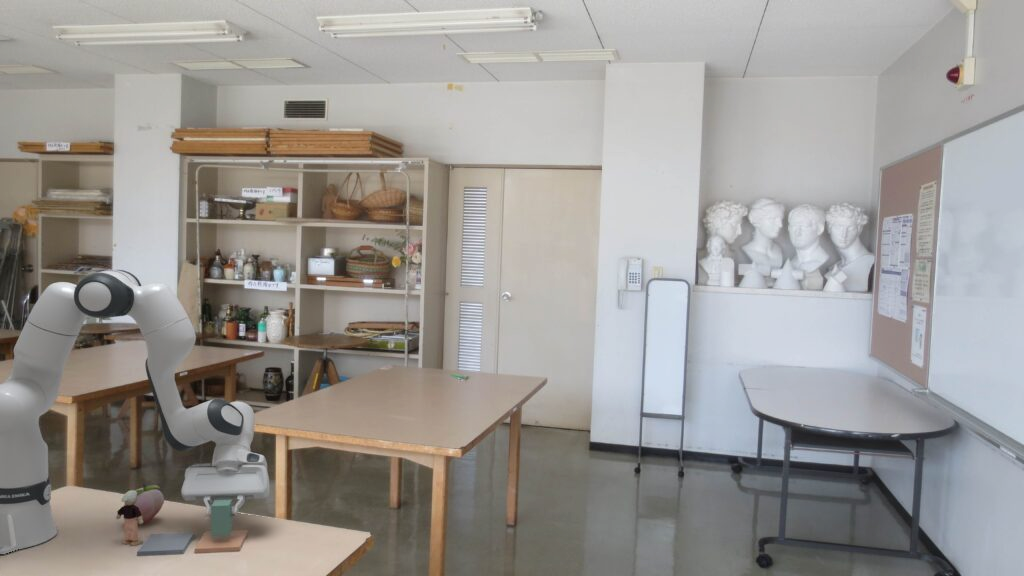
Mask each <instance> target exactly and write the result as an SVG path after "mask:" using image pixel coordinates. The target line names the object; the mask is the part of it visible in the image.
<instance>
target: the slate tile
mask: <svg viewBox="0 0 1024 576" xmlns="http://www.w3.org/2000/svg"><path fill="white" fill-rule="evenodd" d="M195 533H196V532H195V531H190V532H187V531H184V532H167V533H166V532H164V533H160V532H159V533H151V534H150V535H149V536H148V537H147V538H146V539H145V541H143V543H142V545H141V546H140V547H139V548H138V550H137V551H136V556H137V557H139V556H140V557H141V556H142V557H145V556H159V555H160V556H162V555H164V556H165V555H182V554H183V555H184V553H185V552H186V550H187V549H188V547H189V545H190V544H191V543H192V541H193V539H194V537H195V536H196V534H195Z"/></svg>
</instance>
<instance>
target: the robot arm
mask: <svg viewBox="0 0 1024 576" xmlns="http://www.w3.org/2000/svg"><path fill="white" fill-rule="evenodd" d="M124 316H128V317H131V318H132V320H134V321H135V323H136V324H137V326H138V328H139V330H140V333H141V335H142V337H143V339H144V341H145V345H146V349H147V350H146V351H147V358H146V359H145V366H144V367H145V373H146V376H147V380H148V383H149V387H150V390H151V393H152V395H153V399H154V402H155V404H156V407H157V410H158V414H159V418H160V421H161V430H162V435H163V438H164V441H165V443H167V445H168V446H170V447H171V448H172V449H174V450H176V451H178V452H183V453H184V452H188V451H190V450H192V449H195V448H197V447H199V446H200V445H203V444H206V443H209V442H211V441H212V442H213V443H215V447H214V449H213V455H212V460H211V462H207V463H193V464H192V465H190V466H188V467H187V468H186V469H185V472H184V481H183V483H182V487H181V490H180V493H181V497H182V498H183V500H184V501H186V502H196V501H197V502H198V501H203V502H204V504H205V506H206V512H205V513H206V517H207V518H209V517H210V518H211V505H212V502H213V501H215V500H228V499H232V500H237V502H236V504H235V505H234V506H233V505H232V506H231V511H230V515H231V516H232V517H237V516H238V514H239V510H240V509H241V507H242V506H243V505H244V504H245V500H250V499H251V500H253V499H255V500H257V499H266V498H267V497H268V496H269V495H270V494H269V493H270V477H269V473H268V461H267V459H266V457H265V455H263V454H259V453H255V452H252V451H251V450H252V449H251V443H252V442H253V439H254V434H255V426H256V425H255V421H256V420H255V419H256V418H255V413H254V410H253V407H252V406H251V405H249V404H248V403H245V402H243V401H231V402H229V401H227V400H225V399H222V398H214V399H210V400H207V401H205V402H202V403H200V404H198V405H197V404H196V405H195V406H192V407H189V408H186V407H185V406H184V405H183V401H182V399H181V395H180V392H179V390H178V386H177V382H176V380H175V377H176V376H175V374H176V370H178V367H179V366H180V365H181V364H182V363H183V361H184V360H186V358H188V356H189V355H190V353H191V352H192V351H193V348H194V346H195V344H196V340H197V336H196V335H197V334H196V331H195V327H194V325H193V324H192V320H191V319H190V317H189V315H188V313H187V312H186V310H185V308H184V306H183V304H182V303H181V301H180V300H179V298H178V297H177V295H176V294H175V293H174V291H173V290H172V289H171V288H170V286H169V285H167V284H165V283H162V282H151V283H148V284H145V285H142V283H141V281H140V279H138V278H137V276H136V275H134V274H133V273H131V272H129V271H126V270H124V269H105V270H102V271H99V272H95V273H91V274H88V275H87V276H84V277H83V278H81V280H80V281H79V282H78V283H77V284H74V283H71V282H68V281H67V282H66V281H58V282H54V283H51V284H49V285H48V286H47V287H46V288H44V290H43V292H42V293H41V295H40V296H39V298H38V299H37V300H36V302H35V303H34V305H33V307H32V309H31V311H30V312H29V314H28V317H27V319H26V321H25V324H24V326H23V328H22V330H21V332H20V333H19V337H18V338H17V341H16V343H15V345H14V348H13V354H14V356H13V357H14V359H13V363H12V367H11V372H10V374H9V377H8V378H7V379H6V380H4V382H3V383H0V554H4V555H7V554H6V553H8V554H10V553H9V552H11V553H13V552H16V551H18V549H19V550H22V549H26V548H30V547H33V546H37V545H40V544H42V543H43V544H44V543H45V542H47V541H50V539H52V538H54V537H56V535H57V534H58V529H57V527H56V524H55V521H54V516H53V513H52V508H51V506H52V505H51V497H52V496H51V495H52V483H51V482H52V481H51V476H50V475H49V446H48V444H47V442H45V440H44V439H43V436H42V432H41V429H40V425H39V421H40V417H41V416H42V415H44V414H47V412H48V411H49V410H51V408H52V407H53V406H54V404H56V401H57V399H58V397H59V393H60V391H59V388H60V385H61V381H62V378H63V373H64V370H65V366H66V363H67V360H68V359H69V356H70V354H71V352H72V350H73V348H74V345H75V343H76V340H77V338H78V336H79V334H80V333H81V332H80V331H81V330H82V327H83V325H84V323H85V321H86V320H87V318H88V317H91V318H95V319H107V318H109V319H110V318H117V317H124ZM15 550H16V551H15ZM12 551H13V552H12Z"/></svg>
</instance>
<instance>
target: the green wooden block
mask: <svg viewBox="0 0 1024 576" xmlns="http://www.w3.org/2000/svg"><path fill="white" fill-rule="evenodd" d="M212 502H213V503H211V504H210V507H211V517H210V531H211V537H218V536H229V535H230V533H231V531H232V530H233V516H231V515H230V511H231V506H233V499H228V500H213V501H212Z"/></svg>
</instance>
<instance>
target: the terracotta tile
mask: <svg viewBox="0 0 1024 576" xmlns="http://www.w3.org/2000/svg"><path fill="white" fill-rule="evenodd" d="M248 533H249V529H240V530H239V529H237V530H236V529H235V530H233V529H232V531H231V533H230V535H229V536H218V537H211V530H209V531H204V533H203V535H202V536H201V538H200V540H199V541H198V542H197V544H196V546H195V548H194V554H202V553H203V554H205V553H207V554H208V553H224V552H225V553H228V552H229V553H230V552H240V550H241V549H242V547H243V545H244V543H245V540H246V539H247V536H248Z"/></svg>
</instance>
